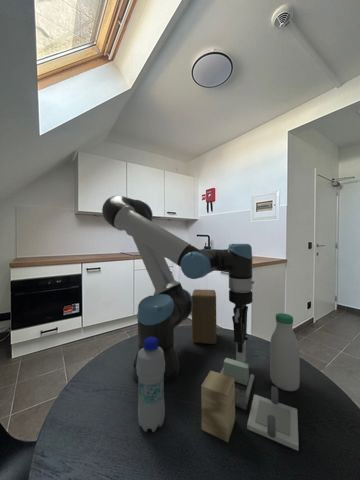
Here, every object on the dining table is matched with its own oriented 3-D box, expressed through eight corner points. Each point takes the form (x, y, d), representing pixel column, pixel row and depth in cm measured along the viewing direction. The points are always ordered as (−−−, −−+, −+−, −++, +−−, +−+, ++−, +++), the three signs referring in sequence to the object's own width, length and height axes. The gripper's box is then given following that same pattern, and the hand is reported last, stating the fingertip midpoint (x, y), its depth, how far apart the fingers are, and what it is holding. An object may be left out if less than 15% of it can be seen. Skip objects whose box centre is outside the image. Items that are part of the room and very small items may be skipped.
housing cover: (223, 377, 62) (223, 361, 62) (226, 372, 65) (226, 356, 65) (247, 385, 59) (247, 368, 59) (249, 379, 61) (249, 363, 61)
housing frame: (209, 396, 55) (209, 381, 55) (223, 368, 67) (223, 356, 66) (246, 410, 51) (245, 394, 50) (254, 378, 62) (254, 365, 62)
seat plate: (246, 431, 45) (246, 411, 45) (254, 396, 55) (254, 379, 55) (298, 453, 40) (298, 431, 40) (297, 411, 50) (297, 393, 50)
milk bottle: (304, 394, 55) (303, 321, 55) (273, 390, 57) (273, 319, 57) (294, 375, 63) (293, 311, 63) (267, 372, 65) (267, 310, 64)
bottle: (170, 416, 49) (170, 334, 49) (156, 441, 43) (155, 348, 43) (147, 406, 52) (146, 329, 52) (130, 429, 46) (129, 341, 46)
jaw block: (201, 429, 46) (201, 385, 45) (210, 409, 51) (210, 370, 51) (228, 442, 43) (227, 395, 43) (234, 419, 48) (234, 378, 48)
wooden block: (193, 332, 93) (193, 288, 92) (215, 333, 91) (215, 289, 91) (191, 343, 83) (191, 294, 82) (216, 345, 81) (216, 295, 81)
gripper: (248, 296, 60) (249, 375, 60) (255, 286, 71) (255, 353, 71) (223, 293, 63) (224, 367, 64) (233, 284, 75) (234, 347, 75)
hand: (240, 360), depth 68 cm, fingers closed
